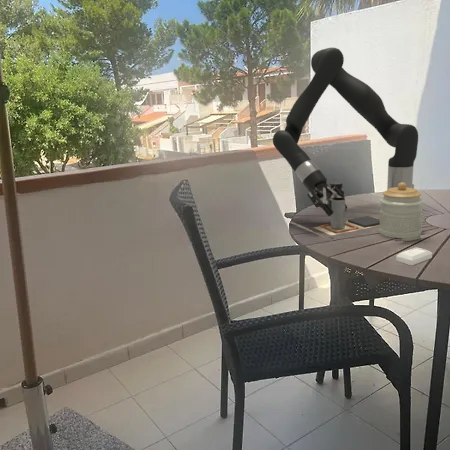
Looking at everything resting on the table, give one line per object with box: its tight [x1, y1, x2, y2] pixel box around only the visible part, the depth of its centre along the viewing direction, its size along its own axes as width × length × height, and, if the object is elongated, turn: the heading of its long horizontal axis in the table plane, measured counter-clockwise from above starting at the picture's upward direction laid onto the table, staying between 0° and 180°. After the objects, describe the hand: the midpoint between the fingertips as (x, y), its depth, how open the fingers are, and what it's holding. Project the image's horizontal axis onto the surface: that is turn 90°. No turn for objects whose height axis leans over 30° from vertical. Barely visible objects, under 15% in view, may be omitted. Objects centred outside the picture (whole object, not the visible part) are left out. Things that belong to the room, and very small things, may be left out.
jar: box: [378, 182, 424, 242], centre depth 139 cm, size 13×13×18 cm
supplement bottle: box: [326, 181, 346, 208], centre depth 173 cm, size 7×7×12 cm
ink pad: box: [347, 215, 380, 228], centre depth 154 cm, size 9×9×1 cm
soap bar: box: [395, 247, 433, 267], centre depth 121 cm, size 5×9×3 cm, turn 122°
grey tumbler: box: [330, 197, 346, 230], centre depth 148 cm, size 4×4×10 cm
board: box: [311, 216, 380, 240], centre depth 152 cm, size 26×11×2 cm, turn 113°
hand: (338, 212), depth 148 cm, fingers open, 8 cm apart
